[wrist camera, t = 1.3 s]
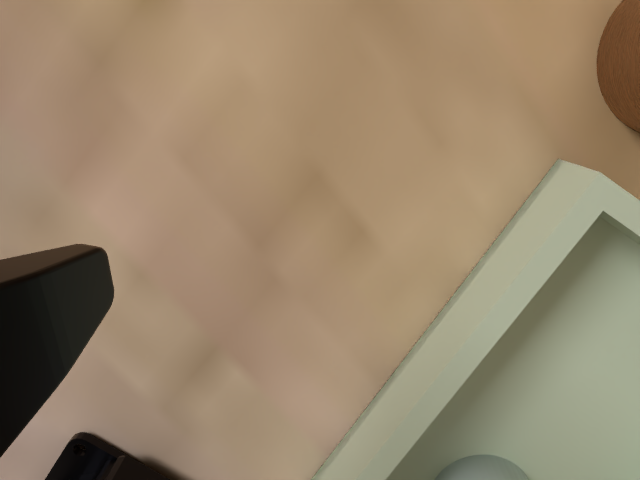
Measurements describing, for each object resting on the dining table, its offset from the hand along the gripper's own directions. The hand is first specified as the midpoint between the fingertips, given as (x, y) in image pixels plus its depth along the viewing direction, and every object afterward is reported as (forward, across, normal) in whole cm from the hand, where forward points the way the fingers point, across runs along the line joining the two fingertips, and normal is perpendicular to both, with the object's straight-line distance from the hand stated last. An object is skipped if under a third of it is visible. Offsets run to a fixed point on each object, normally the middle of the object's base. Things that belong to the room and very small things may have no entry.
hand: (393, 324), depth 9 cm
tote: (+10, +6, -12) cm, 17 cm away
